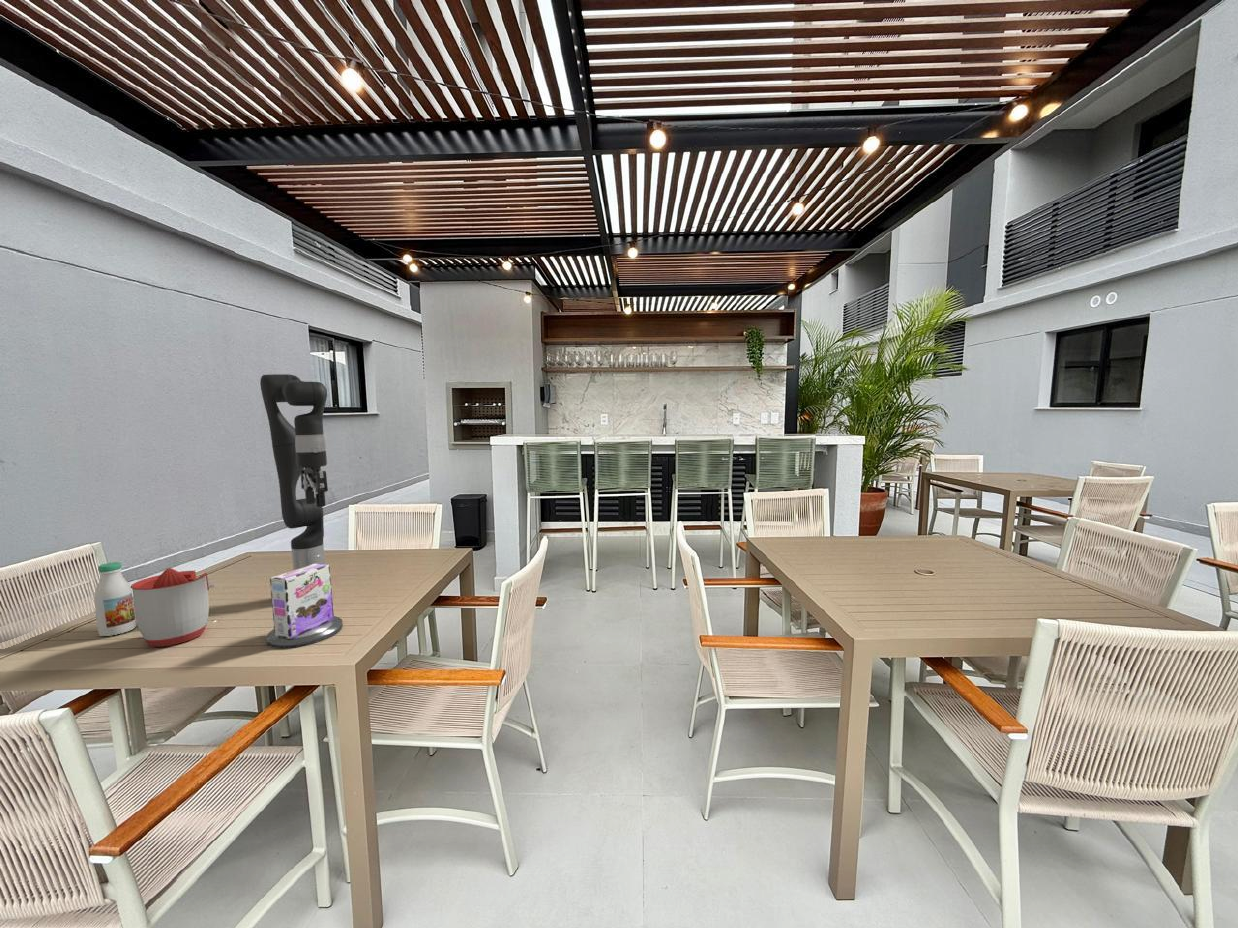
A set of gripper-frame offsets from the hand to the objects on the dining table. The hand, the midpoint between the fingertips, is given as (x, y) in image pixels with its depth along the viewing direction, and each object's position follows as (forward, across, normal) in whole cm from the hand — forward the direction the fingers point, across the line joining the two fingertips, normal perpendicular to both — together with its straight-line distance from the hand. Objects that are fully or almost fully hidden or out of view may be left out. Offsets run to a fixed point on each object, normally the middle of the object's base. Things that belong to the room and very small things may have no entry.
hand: (315, 505), depth 148 cm
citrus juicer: (+34, -17, -31) cm, 49 cm away
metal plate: (+34, +9, -8) cm, 36 cm away
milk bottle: (+34, -37, -42) cm, 66 cm away
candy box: (+33, +9, -8) cm, 35 cm away
